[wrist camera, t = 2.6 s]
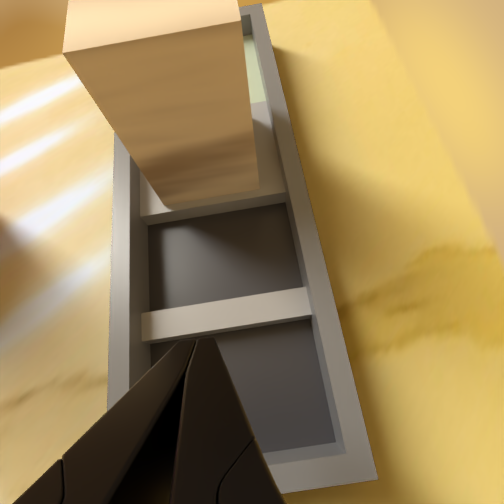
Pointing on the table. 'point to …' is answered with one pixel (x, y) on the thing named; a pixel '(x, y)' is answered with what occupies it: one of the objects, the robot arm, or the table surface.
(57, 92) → the table surface
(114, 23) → the block
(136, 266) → the box
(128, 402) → the robot arm
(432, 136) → the table surface
